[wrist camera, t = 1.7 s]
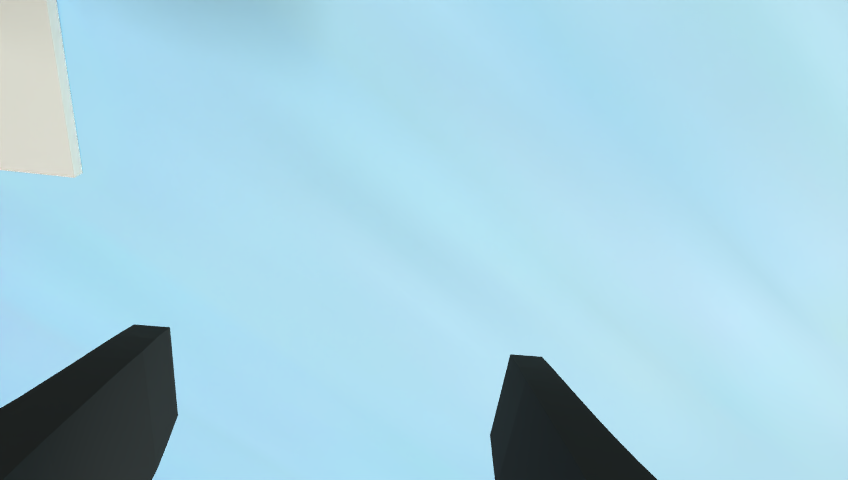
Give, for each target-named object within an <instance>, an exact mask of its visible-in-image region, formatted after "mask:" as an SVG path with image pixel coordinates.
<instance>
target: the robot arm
mask: <svg viewBox="0 0 848 480" xmlns="http://www.w3.org/2000/svg"><path fill="white" fill-rule="evenodd" d="M177 416H178V412H177V401H176V390H175V379H174V368H173V357H172V346H171V335H170V327H158V326H145V325H133V326H131V327H129V328H127V329H126V330H124V331H122V332H121V333H119V334H118V335H116V336H114V337H113V338H111V339H110V340H108V341H106V342H105V343H103V344H102V345H100V346H99V347H97V348H96V349H94V350H93V351H91V352H89V353H88V354H86V355H85V356H83V357H82V358H80V359H79V360H77V361H76V362H74V363H72V364H71V365H69V366H68V367H66V368H65V369H63V370H61V371H60V372H58V373H57V374H55V375H54V376H52V377H50V378H49V379H47V380H46V381H44V382H43V383H41V384H39V385H38V386H36V387H35V388H33V389H31V390H30V391H28V392H27V393H25V394H24V395H22V396H20V397H19V398H17V399H15V400H14V401H12V402H10V403H9V404H7V405H5V406H4V407H2V408H0V480H152V478H153V476H154V474H155V472H156V470H157V468H158V466H159V463H160V461H161V458H162V456H163V453H164V451H165V448H166V446H167V443H168V440H169V438H170V435H171V432H172V429H173V427H174V424H175V421H176V419H177ZM490 438H491V447H492V457H493V466H494V474H495V480H657V479H656V478H655V477H654V476H653V475H652V474H651V473H650V472H649V471H648V470H647V469H646V468H645V467H644V466H643V465H642V464H641V463H640V462H638V460H637V459H636V458H635V457H634V456H633V455H632V454H631V453H630V452H629V451H628V450H627V449H626V448H625V447H624V446H623V445H622V444H621V443H620V442H619V441H618V440H617V439H616V438H615V437H614V436H613V435H612V434H611V433H610V432H609V431H608V429H607V428H606V427H605V426H604V425H603V424H602V423H601V422H600V421H599V420H598V419H597V418H596V416H595V415H594V414H593V413H592V412H591V411H590V410H589V409H588V408H587V407H586V405H585V404H584V403H583V402H582V401H581V400H580V399H579V398H578V397H577V395H576V394H575V393H574V392H573V391H572V390H571V389H570V388H569V386H568V385H567V384H566V383H565V382H564V381H563V380H562V379H561V377H560V376H559V375H558V374H557V373H556V372H555V371H554V370H553V368H552V367H551V366H550V365H549V364H548V363H547V362H546V361H545V360H544V359H543V358H542V357H536V356H523V355H510V358H509V362H508V366H507V370H506V374H505V378H504V382H503V386H502V390H501V394H500V398H499V402H498V406H497V410H496V414H495V418H494V422H493V426H492V430H491V434H490Z"/></svg>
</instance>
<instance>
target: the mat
mask: <svg viewBox="0 0 848 480" xmlns="http://www.w3.org/2000/svg"><path fill="white" fill-rule="evenodd" d="M0 170H6V171H15V172H25V173H34V174H44V175H53V176H63V177H73V178H75V177H77V176H79V175H80V174H82V173H83V172H82V165H81V159H80V152H79V146H78V139H77V133H76V126H75V119H74V113H73V106H72V100H71V93H70V87H69V80H68V74H67V67H66V61H65V54H64V48H63V41H62V34H61V28H60V21H59V15H58V8H57V2H56V0H0Z"/></svg>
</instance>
